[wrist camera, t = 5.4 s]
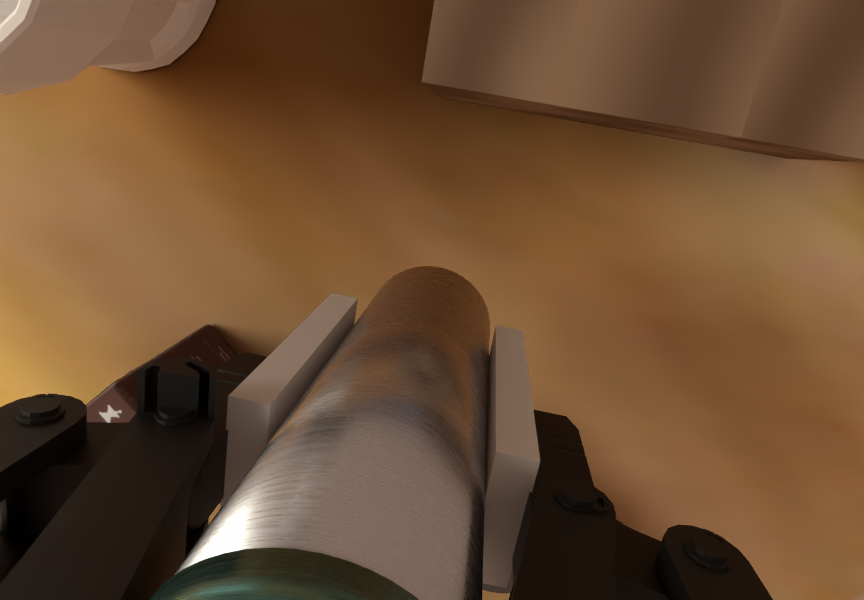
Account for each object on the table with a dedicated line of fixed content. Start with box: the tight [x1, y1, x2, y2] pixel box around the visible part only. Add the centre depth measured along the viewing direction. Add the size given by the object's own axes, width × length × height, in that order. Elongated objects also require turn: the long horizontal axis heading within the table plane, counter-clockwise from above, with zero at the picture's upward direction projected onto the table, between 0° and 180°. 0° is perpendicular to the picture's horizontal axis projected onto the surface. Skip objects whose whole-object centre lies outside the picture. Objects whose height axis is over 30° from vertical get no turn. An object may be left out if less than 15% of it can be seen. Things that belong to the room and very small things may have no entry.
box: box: [86, 325, 237, 503], centre depth 25 cm, size 6×6×7 cm
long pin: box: [149, 266, 490, 600], centre depth 12 cm, size 4×4×14 cm
